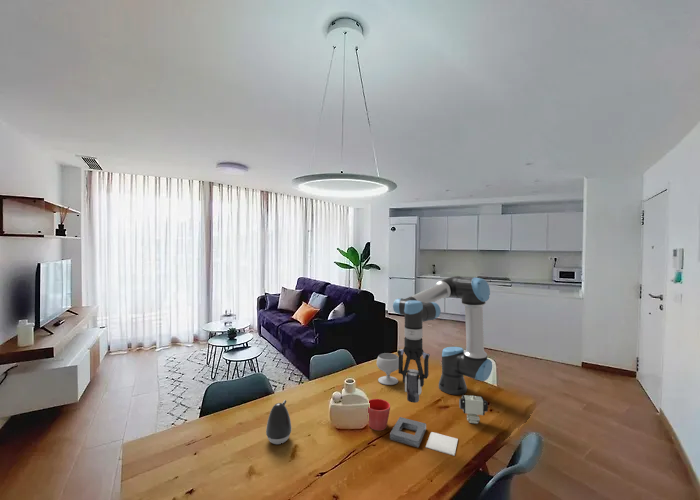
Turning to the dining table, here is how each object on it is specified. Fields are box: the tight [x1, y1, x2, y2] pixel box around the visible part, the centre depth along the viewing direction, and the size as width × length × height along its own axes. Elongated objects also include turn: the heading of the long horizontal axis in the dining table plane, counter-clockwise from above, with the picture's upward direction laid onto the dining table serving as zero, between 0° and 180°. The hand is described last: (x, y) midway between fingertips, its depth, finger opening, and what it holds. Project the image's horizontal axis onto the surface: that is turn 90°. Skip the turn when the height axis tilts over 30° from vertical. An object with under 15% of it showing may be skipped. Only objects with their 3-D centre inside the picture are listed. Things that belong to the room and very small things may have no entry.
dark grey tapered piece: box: [265, 399, 292, 445], centre depth 126 cm, size 10×10×15 cm
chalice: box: [376, 352, 399, 386], centre depth 183 cm, size 14×14×15 cm
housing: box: [389, 416, 427, 448], centre depth 131 cm, size 14×12×2 cm
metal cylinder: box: [406, 368, 420, 403], centre depth 130 cm, size 5×5×12 cm
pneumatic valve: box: [458, 394, 489, 425], centre depth 141 cm, size 6×12×12 cm, turn 78°
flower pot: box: [368, 398, 391, 432], centre depth 137 cm, size 11×11×10 cm
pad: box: [425, 431, 459, 457], centre depth 125 cm, size 11×11×1 cm
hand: (413, 391), depth 130 cm, fingers closed on metal cylinder, 5 cm apart
